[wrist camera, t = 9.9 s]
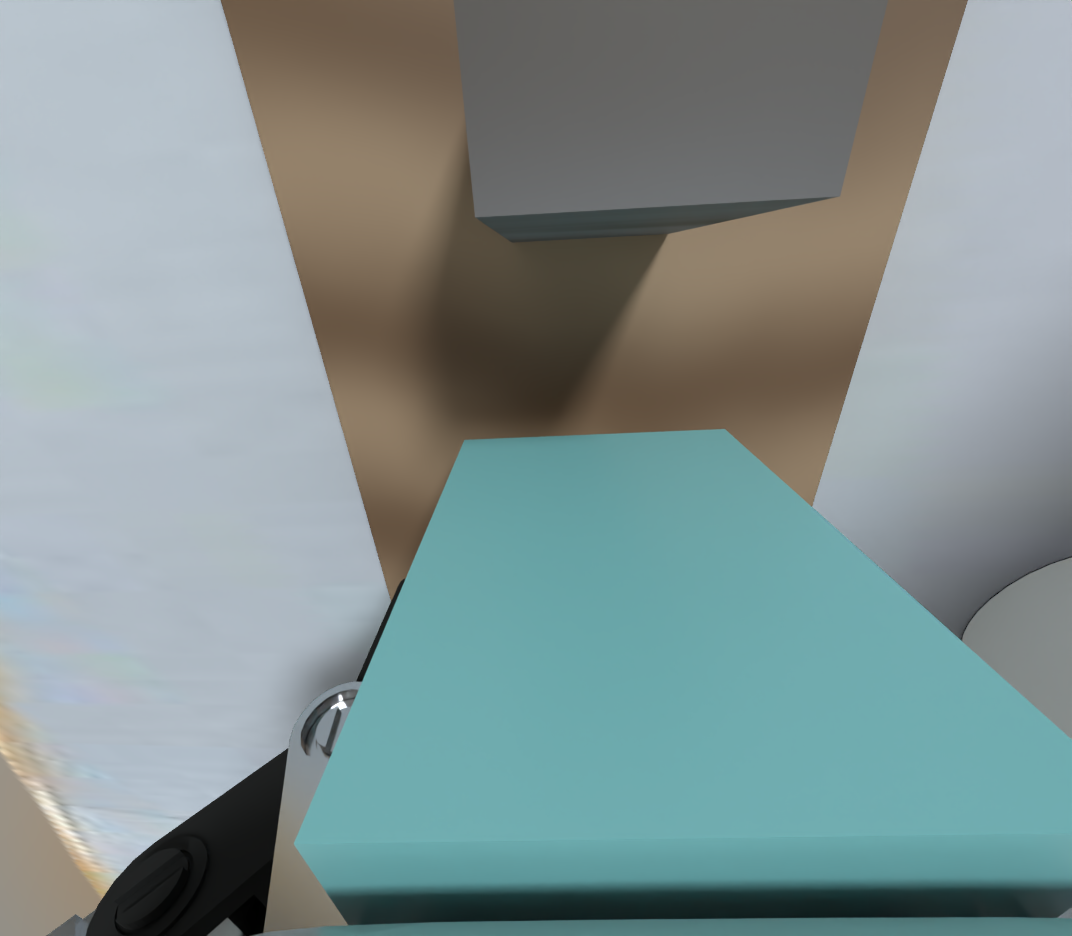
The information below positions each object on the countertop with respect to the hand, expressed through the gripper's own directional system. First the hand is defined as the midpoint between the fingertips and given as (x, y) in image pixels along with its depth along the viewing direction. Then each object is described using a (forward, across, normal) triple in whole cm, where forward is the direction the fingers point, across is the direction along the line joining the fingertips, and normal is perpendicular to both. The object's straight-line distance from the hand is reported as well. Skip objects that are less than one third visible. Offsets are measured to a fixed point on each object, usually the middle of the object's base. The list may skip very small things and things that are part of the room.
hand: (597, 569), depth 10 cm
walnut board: (+4, 0, -5) cm, 6 cm away
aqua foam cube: (+1, 0, 0) cm, 1 cm away
